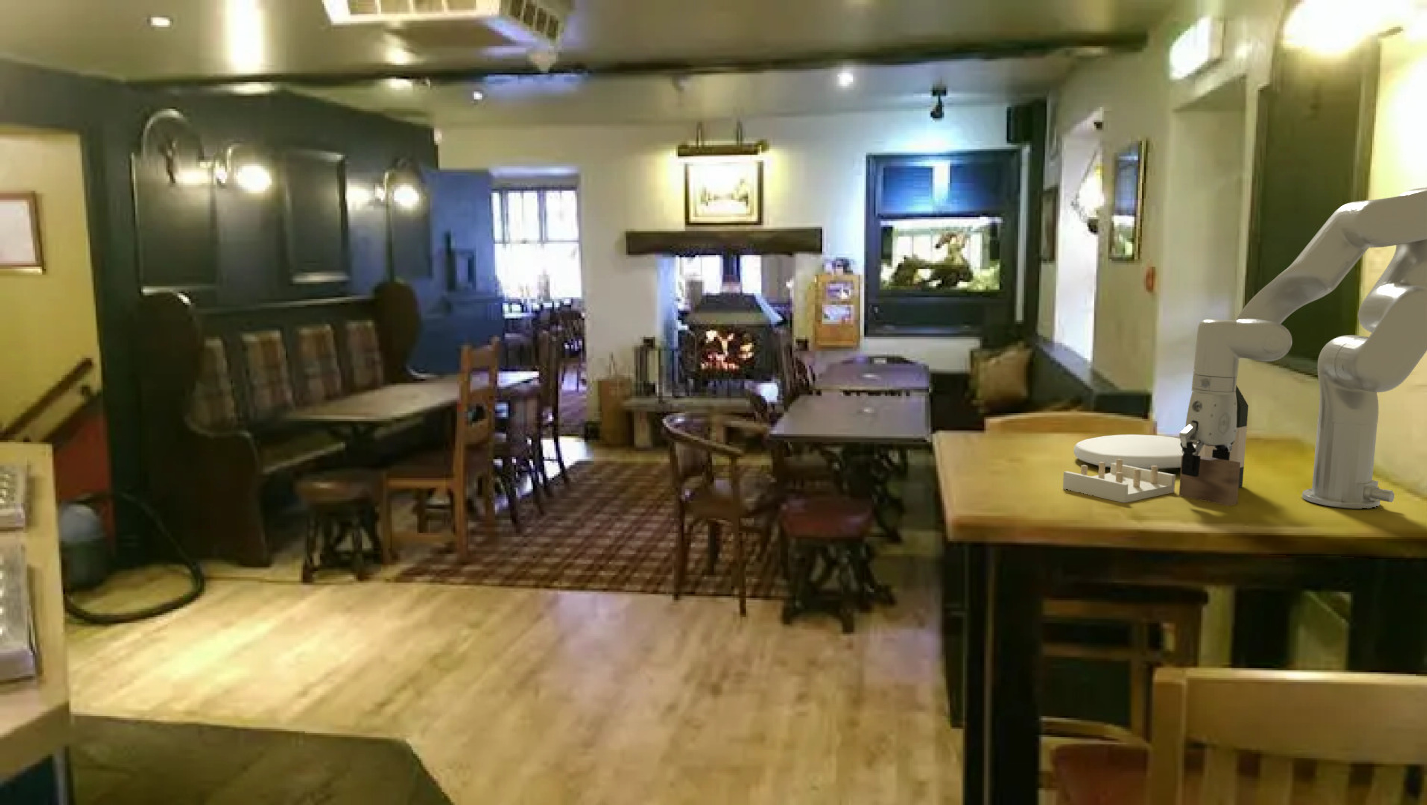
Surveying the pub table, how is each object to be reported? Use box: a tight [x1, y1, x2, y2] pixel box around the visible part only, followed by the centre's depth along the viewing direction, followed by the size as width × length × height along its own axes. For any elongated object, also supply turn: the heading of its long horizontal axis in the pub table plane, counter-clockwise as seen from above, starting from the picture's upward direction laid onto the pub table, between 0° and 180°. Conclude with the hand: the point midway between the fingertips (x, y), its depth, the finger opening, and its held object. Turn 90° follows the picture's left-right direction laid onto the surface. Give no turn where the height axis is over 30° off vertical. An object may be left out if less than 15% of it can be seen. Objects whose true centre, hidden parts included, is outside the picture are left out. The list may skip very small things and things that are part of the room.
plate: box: [1073, 434, 1199, 470], centre depth 227 cm, size 28×6×27 cm
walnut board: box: [1178, 455, 1240, 507], centre depth 194 cm, size 10×3×8 cm, turn 33°
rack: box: [1062, 459, 1176, 504], centre depth 201 cm, size 14×16×5 cm
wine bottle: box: [1199, 384, 1249, 489], centre depth 205 cm, size 8×8×30 cm
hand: (1204, 473), depth 194 cm, fingers open, 9 cm apart
